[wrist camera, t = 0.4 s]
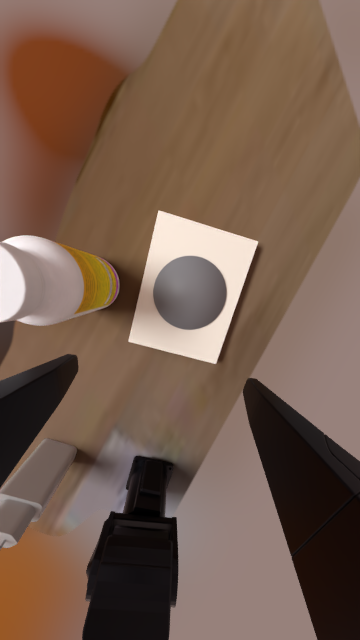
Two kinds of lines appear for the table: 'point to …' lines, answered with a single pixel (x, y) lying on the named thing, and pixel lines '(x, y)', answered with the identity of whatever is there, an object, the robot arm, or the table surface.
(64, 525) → the table surface
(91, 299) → the supplement bottle
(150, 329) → the base
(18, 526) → the power adapter
